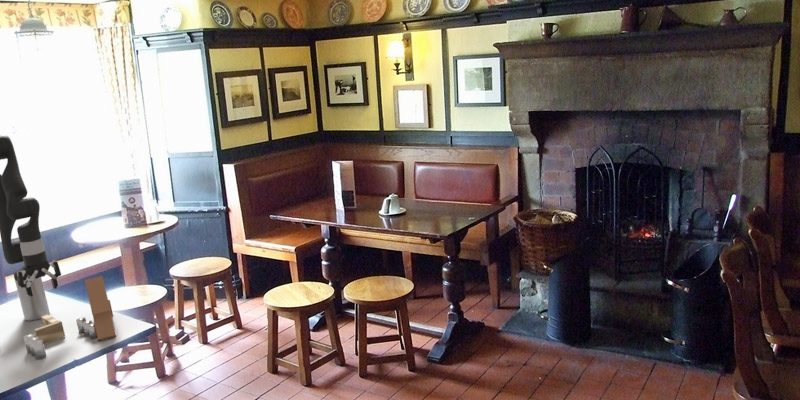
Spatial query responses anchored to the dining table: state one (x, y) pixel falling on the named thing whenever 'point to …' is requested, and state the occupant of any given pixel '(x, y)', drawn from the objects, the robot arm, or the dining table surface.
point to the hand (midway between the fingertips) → (43, 292)
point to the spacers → (37, 345)
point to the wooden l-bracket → (49, 329)
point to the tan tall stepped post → (100, 308)
